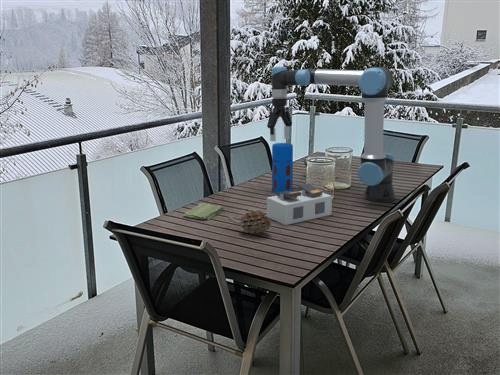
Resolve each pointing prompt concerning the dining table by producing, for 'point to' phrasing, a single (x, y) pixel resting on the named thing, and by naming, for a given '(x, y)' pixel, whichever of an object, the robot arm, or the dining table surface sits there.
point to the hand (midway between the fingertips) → (280, 140)
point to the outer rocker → (289, 194)
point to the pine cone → (253, 222)
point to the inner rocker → (310, 190)
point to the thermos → (282, 167)
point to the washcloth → (203, 211)
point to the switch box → (298, 207)
